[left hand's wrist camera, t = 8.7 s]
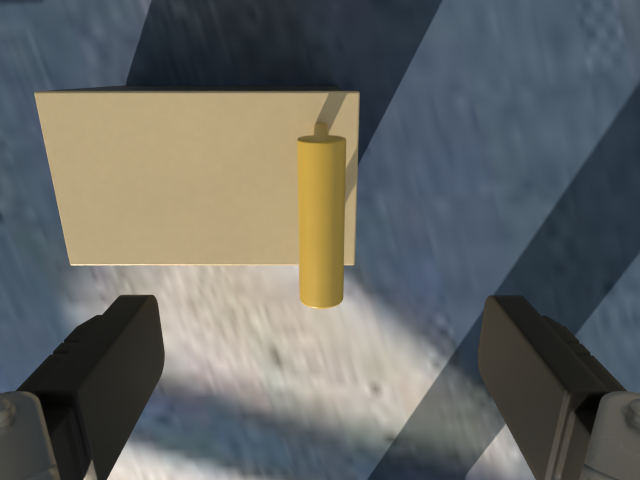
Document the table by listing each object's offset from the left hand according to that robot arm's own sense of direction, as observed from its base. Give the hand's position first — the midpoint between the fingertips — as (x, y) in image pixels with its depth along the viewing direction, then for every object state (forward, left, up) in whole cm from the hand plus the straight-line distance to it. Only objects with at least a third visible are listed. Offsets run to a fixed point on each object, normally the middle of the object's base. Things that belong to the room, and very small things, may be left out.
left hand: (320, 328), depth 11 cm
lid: (-5, +4, -16) cm, 17 cm away
